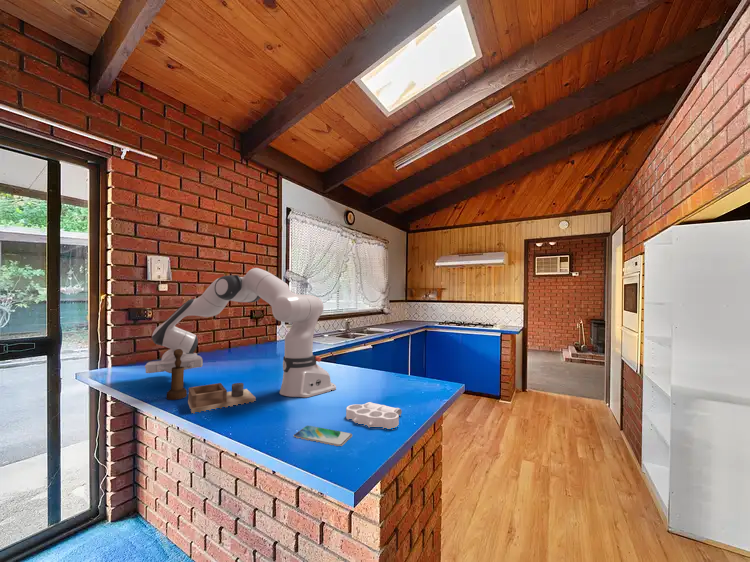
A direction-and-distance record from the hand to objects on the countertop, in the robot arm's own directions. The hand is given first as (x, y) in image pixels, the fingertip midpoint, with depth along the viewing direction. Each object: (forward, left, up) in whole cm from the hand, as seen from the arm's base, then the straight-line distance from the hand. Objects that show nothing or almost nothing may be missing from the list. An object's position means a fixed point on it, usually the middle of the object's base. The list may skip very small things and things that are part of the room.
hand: (176, 368), depth 125 cm
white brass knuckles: (-48, +70, -10) cm, 86 cm away
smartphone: (-30, +71, -10) cm, 78 cm away
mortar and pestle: (0, +9, -9) cm, 13 cm away
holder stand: (-13, +25, -9) cm, 30 cm away
